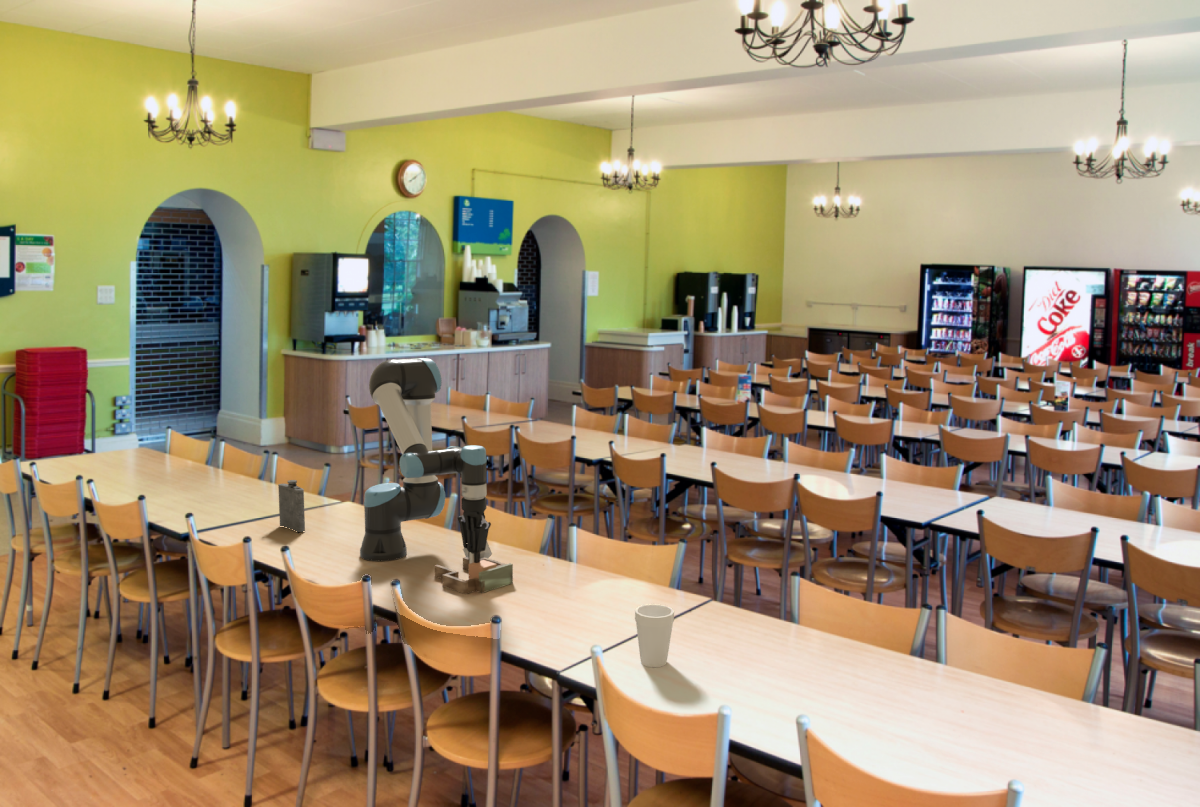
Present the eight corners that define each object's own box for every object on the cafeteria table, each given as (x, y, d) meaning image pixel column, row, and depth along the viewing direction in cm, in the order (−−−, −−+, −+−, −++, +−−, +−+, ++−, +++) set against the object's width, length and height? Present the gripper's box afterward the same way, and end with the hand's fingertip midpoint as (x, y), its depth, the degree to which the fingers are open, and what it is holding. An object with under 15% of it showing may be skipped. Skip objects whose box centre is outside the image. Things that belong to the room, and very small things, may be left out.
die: (496, 563, 309) (487, 536, 313) (491, 557, 301) (482, 530, 305) (472, 572, 309) (464, 545, 312) (467, 567, 301) (458, 539, 304)
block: (468, 583, 287) (468, 564, 287) (483, 578, 292) (483, 559, 291) (481, 587, 283) (481, 568, 283) (496, 583, 288) (496, 563, 287)
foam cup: (632, 654, 235) (633, 604, 233) (669, 653, 236) (670, 603, 234) (637, 670, 226) (637, 618, 224) (675, 669, 226) (676, 617, 225)
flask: (287, 524, 351) (285, 476, 348) (308, 531, 342) (307, 482, 339) (278, 526, 348) (276, 478, 346) (299, 533, 339) (297, 484, 336)
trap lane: (424, 579, 290) (424, 560, 289) (475, 564, 305) (475, 546, 304) (471, 596, 276) (471, 576, 275) (522, 580, 291) (522, 561, 290)
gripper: (450, 495, 288) (451, 570, 291) (478, 502, 279) (479, 579, 283) (469, 491, 294) (470, 565, 297) (497, 498, 285) (497, 574, 288)
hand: (474, 572), depth 290 cm, fingers closed
